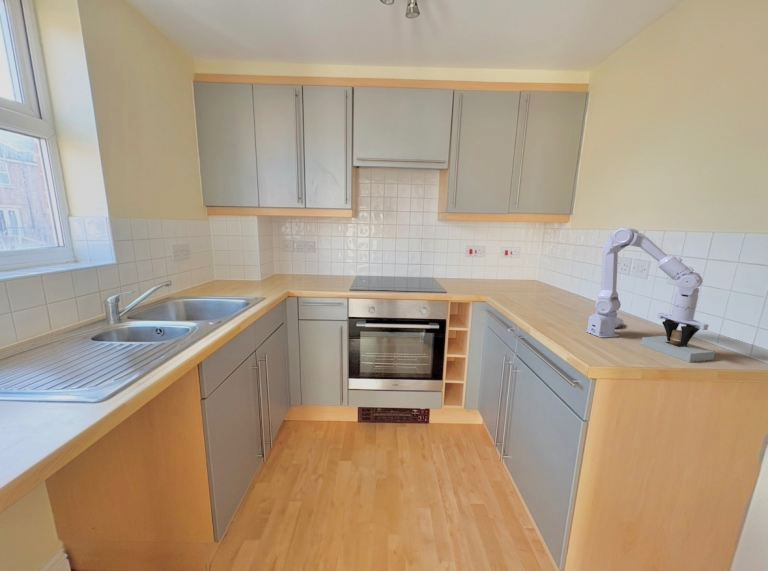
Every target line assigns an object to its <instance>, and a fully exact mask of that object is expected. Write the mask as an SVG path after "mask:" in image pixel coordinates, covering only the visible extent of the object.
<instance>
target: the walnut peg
mask: <svg viewBox="0 0 768 571" xmlns="http://www.w3.org/2000/svg"><path fill="white" fill-rule="evenodd" d="M681 337H682V330H679V329H677V330H673V331H672V335H671V338H670V343H669V344H671V345H674V346H677V347H683V346H682V345H680V342H681Z"/></svg>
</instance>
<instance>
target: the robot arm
mask: <svg viewBox="0 0 768 571" xmlns="http://www.w3.org/2000/svg"><path fill="white" fill-rule="evenodd" d="M629 246H631V247H632V246H633V247H637V248H640V249H642V250H643V251H644V252H646V253H647V254H648V255H649V256H651V257H652V258H653V259H654V260H656V261H657V262H658V268H659V269H660V270H661V271H663V272H664V273H665V274H666V275H667V276H669V278H671V280H673V281H675V284H676V286H677V289H676V293H675V297H674V301H673V306H672V312H671V314H668V313H665V312H659V313H657V319H659V320H664V321H662V325H663V327H664V330H665V333H666V337H667V341H670V338H671V335H672V331H673V330H678V328H679V326H680V324H681V325H682V326H680V329H681V331H682V337H681V342H680V345H682V346H684V345H687V344H688V343H690V340H691V339H692V337H693V336H694V335H696V333H698V332H699V331H700V330H701V331H708V328H709V324H708V323H704V322H700V321H699V320H696V319H694V318H695V317H694V316H695V313H696V309H697V304H698V303H697V302H698V299H699V292H700V288H699V287H700V286H701V285H702V284H703V278H702V276H701V275H700V273H698V272H694V271H695V270H694V269H693V268H690V267H688V266H687V265H686V264H684V263H683V259H682V258H681V257H677V256H675V255H672V256H671V255H670V256H669V255H667V254H666V253H665V252H664V251H663V250H662V249H661V248H660V247H659V246H658V245H656V244H655V243H654V242H653V241H652V240H651V239H649V237H647V236H646V235H645V234H644V233H641V232H640V231H639V230H638V229H636V228H633V227H632V228H631V227H630V228H627V227H621V228H618V229H616V230H615V231H613V232H612V233H611V234H610V235H609V238H608V240H607V241H606V242H605V243H604V245H603V247H602V249H601V250H602V252H601V256H602V257H601V281H600V282H601V283H600V292H599V294H598V296H597V300H596V302H595V303H594V308H595V310H596V311H595V313H593V314H591V315H590V316H589V317H588V320H587V328H586V329H585V330H584V332H586V333H588V334H590V333H591V334H590V335H593V336H596V337H598V338H615V337H620V335H619V334H617V333H615V330H616V328H615V325H616V319H617V317H618V312H617V311H618V310H619V309H620V308H621V304H622V303H621V301H620V300H619V294H618V291H617V286H618V285H617V281H618V280H617V279H618V262H619V261H618V257H619V254H618V253H619V252H621V250H623V249H624V248H627V247H629Z"/></svg>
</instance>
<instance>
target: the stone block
mask: <svg viewBox="0 0 768 571" xmlns="http://www.w3.org/2000/svg"><path fill="white" fill-rule="evenodd" d="M624 325H625V323H624V320H623V319H622V318H621V317H618V316H617V319H616V325H615V329H619V328H622V327H623V326H624ZM621 326H622V327H621ZM618 327H619V328H618Z"/></svg>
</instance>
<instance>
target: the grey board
mask: <svg viewBox="0 0 768 571" xmlns="http://www.w3.org/2000/svg"><path fill="white" fill-rule="evenodd" d="M669 343H670V341H667V335H657V336H644V337H641V342H640V345H641V346H643V347H646V348H648V349H651V350H654V351H655V352H656V351H657V352H658V353H659V352H660V353H662V354H665V355H668V356H670V357H674V358H676V359H679V360H682V361H684V362H687V363H694V361H697V362H705V361H706V360H707V361H713V360H714V358H715V354H716V351H715V350H714V351H713V350H711V349H709V348H704V347H702V346H698V345H695V344H693V343H690V342H688V344H687V345H684V346H683V347H677V346H674V345H671V344H669Z"/></svg>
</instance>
